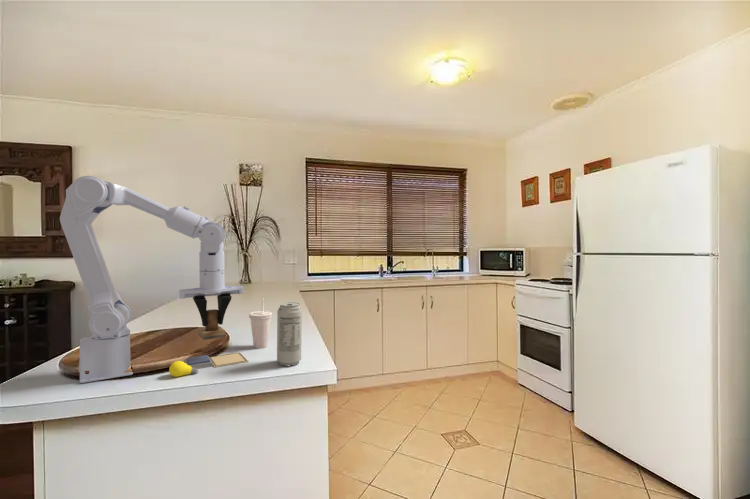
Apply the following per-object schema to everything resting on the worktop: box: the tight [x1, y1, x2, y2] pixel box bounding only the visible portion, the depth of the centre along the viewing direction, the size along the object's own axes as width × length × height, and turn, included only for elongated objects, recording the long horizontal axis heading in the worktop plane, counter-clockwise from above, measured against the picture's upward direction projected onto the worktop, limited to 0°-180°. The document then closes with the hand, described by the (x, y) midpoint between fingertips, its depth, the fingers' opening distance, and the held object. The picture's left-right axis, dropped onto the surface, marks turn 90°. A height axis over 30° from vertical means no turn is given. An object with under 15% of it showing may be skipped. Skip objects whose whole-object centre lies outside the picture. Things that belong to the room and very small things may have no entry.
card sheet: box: [209, 351, 249, 368], centre depth 96 cm, size 8×8×1 cm
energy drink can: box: [276, 302, 303, 367], centre depth 94 cm, size 6×6×15 cm
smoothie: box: [248, 297, 273, 349], centre depth 107 cm, size 6×6×14 cm
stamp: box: [198, 308, 226, 340], centre depth 93 cm, size 5×5×6 cm
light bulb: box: [168, 360, 199, 378], centre depth 85 cm, size 3×6×4 cm, turn 117°
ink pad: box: [183, 354, 214, 370], centre depth 92 cm, size 6×6×1 cm
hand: (212, 324), depth 93 cm, fingers closed on stamp, 3 cm apart
